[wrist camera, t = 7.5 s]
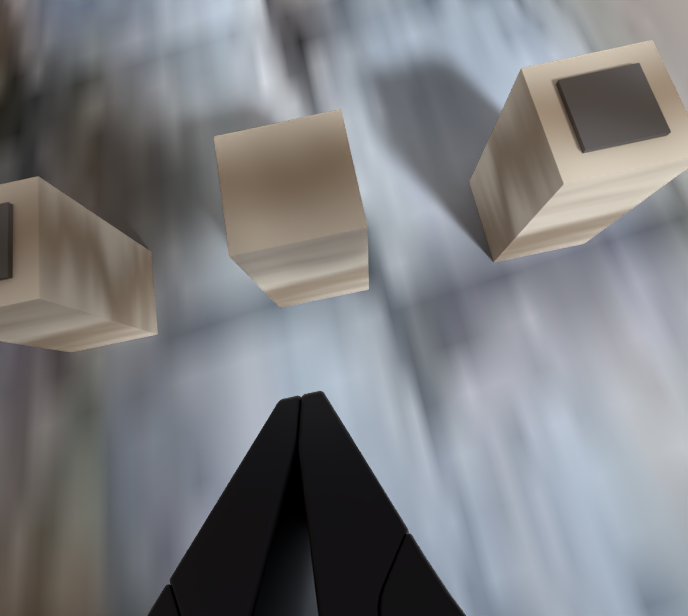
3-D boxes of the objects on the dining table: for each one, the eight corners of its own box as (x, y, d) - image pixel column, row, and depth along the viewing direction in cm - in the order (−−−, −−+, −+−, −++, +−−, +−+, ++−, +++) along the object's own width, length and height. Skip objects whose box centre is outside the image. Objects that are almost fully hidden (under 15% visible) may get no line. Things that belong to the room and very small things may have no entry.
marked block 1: (584, 243, 21) (711, 150, 13) (493, 262, 21) (566, 180, 13) (553, 161, 23) (654, 30, 15) (468, 179, 23) (521, 59, 15)
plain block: (368, 289, 22) (367, 227, 14) (280, 307, 22) (229, 256, 14) (351, 208, 23) (341, 109, 15) (267, 226, 23) (213, 136, 15)
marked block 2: (157, 334, 22) (34, 296, 14) (71, 352, 22) (-101, 325, 14) (150, 248, 23) (33, 168, 15) (68, 265, 23) (-91, 195, 15)
